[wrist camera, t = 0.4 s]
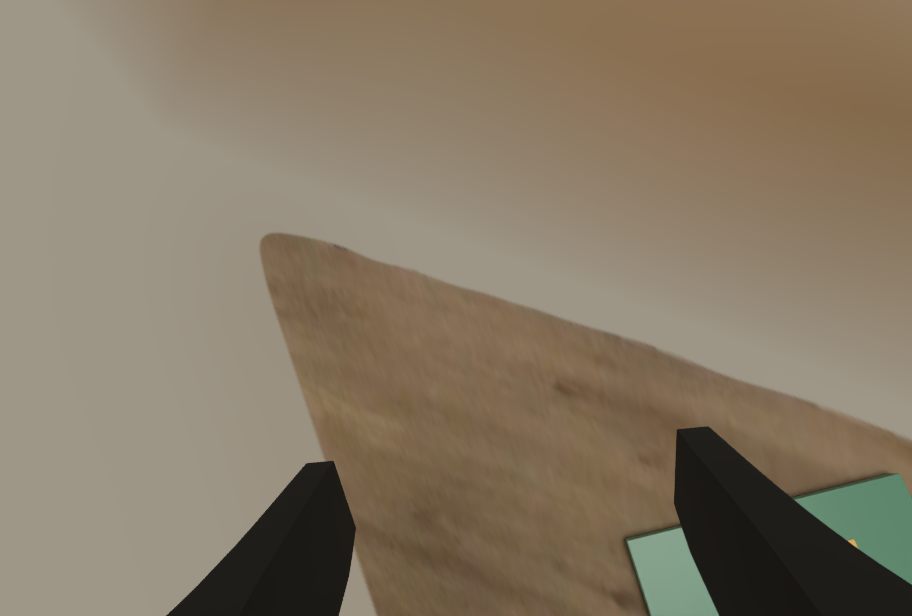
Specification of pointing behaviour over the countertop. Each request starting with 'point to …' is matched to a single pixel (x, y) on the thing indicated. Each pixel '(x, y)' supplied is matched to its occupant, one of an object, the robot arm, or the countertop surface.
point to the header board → (840, 508)
